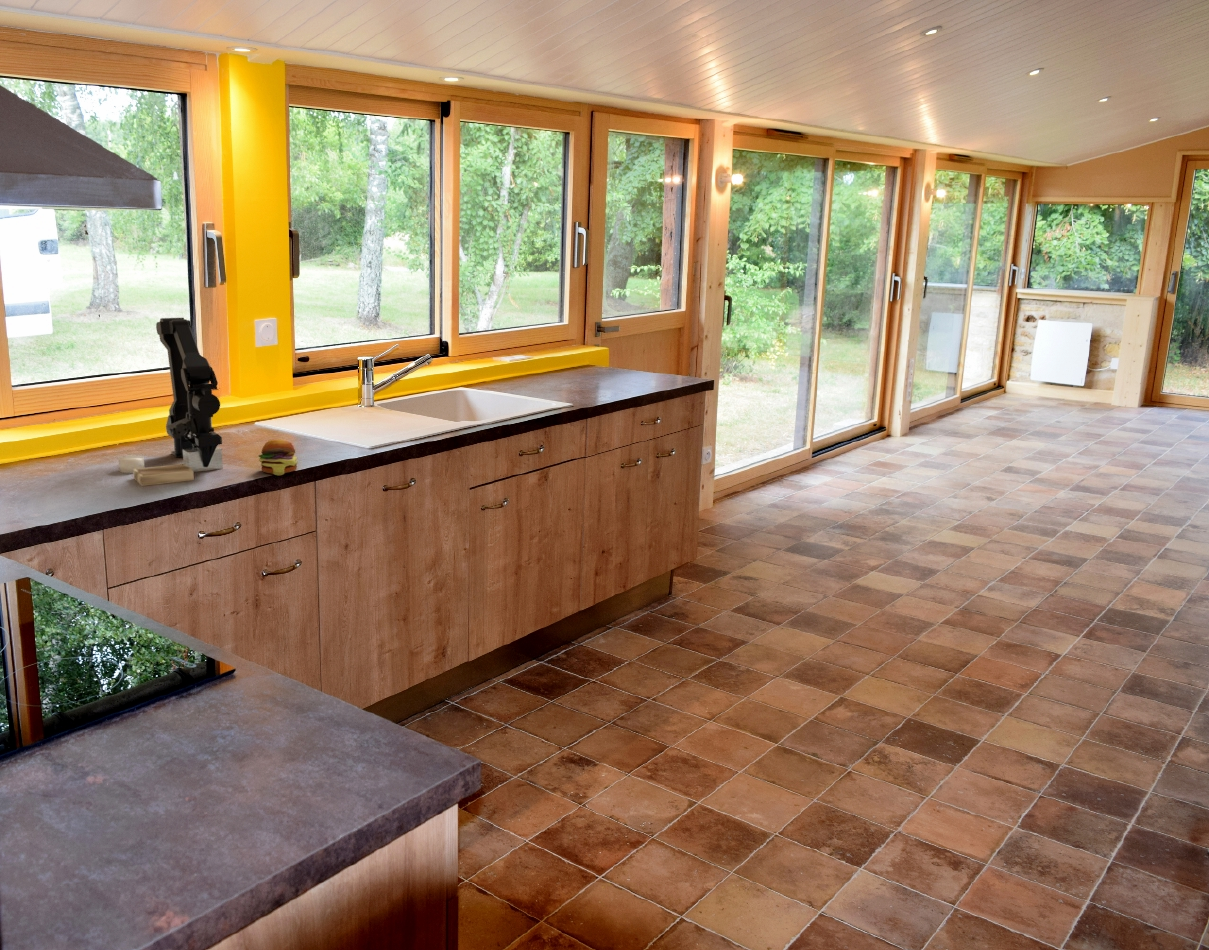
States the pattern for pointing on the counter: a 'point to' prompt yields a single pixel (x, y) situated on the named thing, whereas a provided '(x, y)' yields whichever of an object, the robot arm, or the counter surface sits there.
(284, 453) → the cheeseburger
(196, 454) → the block
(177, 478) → the stand
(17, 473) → the counter surface
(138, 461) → the cream rounded block
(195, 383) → the robot arm
